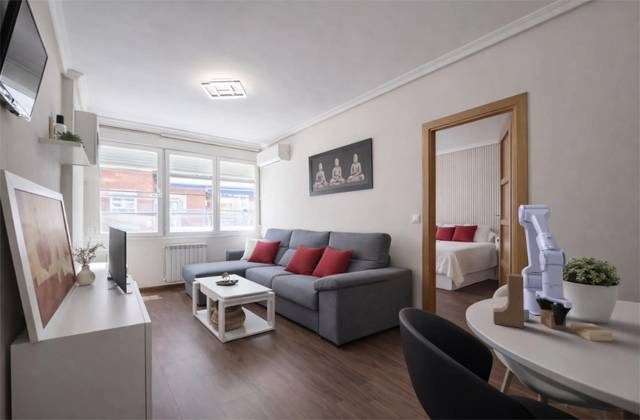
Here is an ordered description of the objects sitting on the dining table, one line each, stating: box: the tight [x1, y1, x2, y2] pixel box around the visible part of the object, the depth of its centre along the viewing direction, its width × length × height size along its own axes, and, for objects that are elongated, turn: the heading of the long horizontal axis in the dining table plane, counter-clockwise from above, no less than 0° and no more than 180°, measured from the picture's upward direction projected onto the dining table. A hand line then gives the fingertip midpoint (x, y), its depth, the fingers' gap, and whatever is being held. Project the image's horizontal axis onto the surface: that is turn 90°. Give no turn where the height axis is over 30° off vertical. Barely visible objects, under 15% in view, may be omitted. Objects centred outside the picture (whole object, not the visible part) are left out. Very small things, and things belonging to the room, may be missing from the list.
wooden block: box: [492, 273, 525, 329], centre depth 104 cm, size 9×4×18 cm, turn 61°
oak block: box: [570, 323, 613, 342], centre depth 94 cm, size 7×7×3 cm
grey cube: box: [524, 308, 530, 322], centre depth 110 cm, size 4×4×4 cm
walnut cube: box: [540, 310, 567, 330], centre depth 103 cm, size 5×5×5 cm
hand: (553, 322), depth 103 cm, fingers closed on walnut cube, 5 cm apart
